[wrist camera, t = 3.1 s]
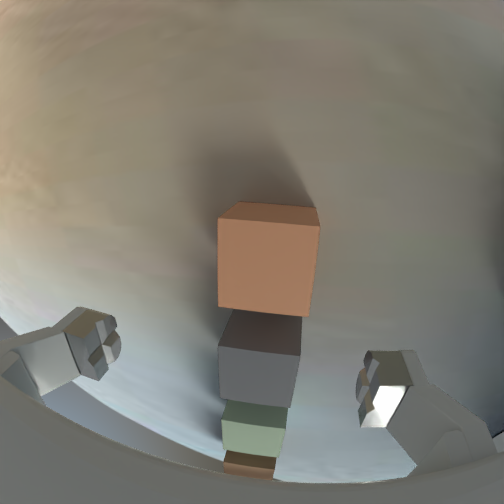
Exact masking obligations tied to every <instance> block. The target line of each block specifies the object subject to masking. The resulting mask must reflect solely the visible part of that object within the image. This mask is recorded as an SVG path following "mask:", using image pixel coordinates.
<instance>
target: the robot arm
mask: <svg viewBox="0 0 504 504" xmlns="http://www.w3.org/2000/svg"><path fill="white" fill-rule="evenodd" d="M116 327H117V323H116V320H115V318H114V317H113V316H112V315H109V314H106V313H102V312H99V311H95V310H92V309H88V308H84V307H76V308H75V309H74V310H72V311H71V312H70V313H69V314H67V315H66V316H65V317H64V318H63V319H61V320H60V321H59V322H58V323H57V324H55V325H54V326H53V327H52V328H51V327H46V328H43V329H39V330H36V331H33V332H29V333H26V334H22V335H19V336H16V337H12V338H9V339H5V340H2V341H0V504H504V432H502V433H501V434H499V435H498V436H496V437H494V438H493V439H492V437H491V434H490V432H489V430H488V427H487V425H486V423H485V422H484V421H483V420H481V419H480V418H479V417H477V416H476V415H475V414H473V413H472V412H471V411H469V410H468V409H466V408H465V407H464V406H462V405H461V404H460V403H458V402H457V401H456V400H454V399H453V398H452V397H450V396H449V395H447V394H446V393H445V392H443V391H442V390H441V389H439V388H438V387H437V386H435V385H430V384H429V382H428V379H427V377H426V375H425V372H424V370H423V368H422V366H421V363H420V361H419V359H418V357H417V355H416V352H415V351H413V350H398V351H371V350H368V351H367V353H366V355H365V358H364V365H365V368H363V369H362V370H361V371H360V372H359V375H358V378H357V384H356V398H357V401H358V402H359V403H360V404H361V405H360V408H359V410H358V413H359V420H360V427H386V429H387V430H388V431H389V432H390V433H391V435H392V436H393V437H394V438H395V439H396V441H397V442H398V443H399V444H400V445H401V446H402V448H403V449H404V450H405V451H406V452H407V454H408V455H409V456H410V457H411V458H412V460H413V461H414V462H415V463H416V464H417V466H416V467H415V468H414V470H413V471H412V472H411V473H410V474H409V475H408V476H407V477H404V478H397V479H389V480H380V481H370V482H355V483H298V482H283V481H272V480H263V479H255V478H248V477H241V476H235V475H230V474H224V473H219V472H214V471H209V470H205V469H201V468H197V467H193V466H188V465H184V464H181V463H178V462H174V461H171V460H167V459H164V458H161V457H158V456H154V455H151V454H148V453H145V452H143V451H140V450H137V449H134V448H132V447H129V446H126V445H124V444H121V443H119V442H116V441H114V440H112V439H109V438H107V437H105V436H102V435H100V434H98V433H96V432H94V431H92V430H89V429H87V428H85V427H83V426H81V425H79V424H77V423H75V422H73V421H71V420H70V419H67V418H66V417H64V416H62V415H60V414H59V413H57V412H55V411H53V410H52V409H50V408H48V407H46V405H45V403H44V401H43V399H42V398H41V396H42V395H44V394H46V393H48V392H50V391H52V390H54V389H56V388H58V387H59V386H61V385H63V384H65V383H67V382H69V381H71V380H73V379H75V378H77V377H79V376H80V375H83V376H86V377H88V378H91V379H94V380H97V381H99V380H100V379H101V378H102V377H103V375H104V374H105V373H106V372H107V371H108V364H110V363H112V362H115V361H116V359H117V358H118V357H119V354H120V351H121V340H120V336H119V335H118V334H117V332H116V331H115V329H116Z"/></svg>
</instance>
